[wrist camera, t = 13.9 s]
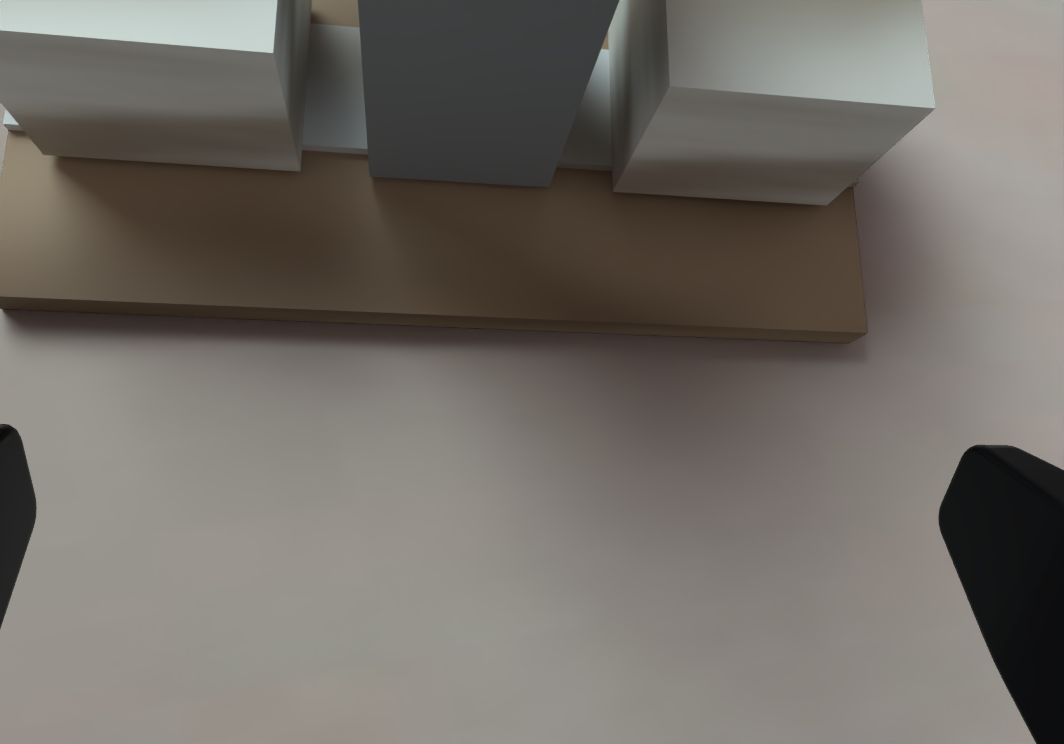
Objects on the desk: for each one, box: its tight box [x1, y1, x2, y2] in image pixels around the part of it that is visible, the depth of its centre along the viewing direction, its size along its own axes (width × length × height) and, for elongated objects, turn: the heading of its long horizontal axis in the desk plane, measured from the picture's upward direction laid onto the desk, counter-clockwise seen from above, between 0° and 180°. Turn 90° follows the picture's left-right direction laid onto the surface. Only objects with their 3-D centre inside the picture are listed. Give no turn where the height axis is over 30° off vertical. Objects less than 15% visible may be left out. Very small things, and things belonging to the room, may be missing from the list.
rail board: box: [0, 0, 935, 343], centre depth 21 cm, size 12×22×6 cm, turn 90°
